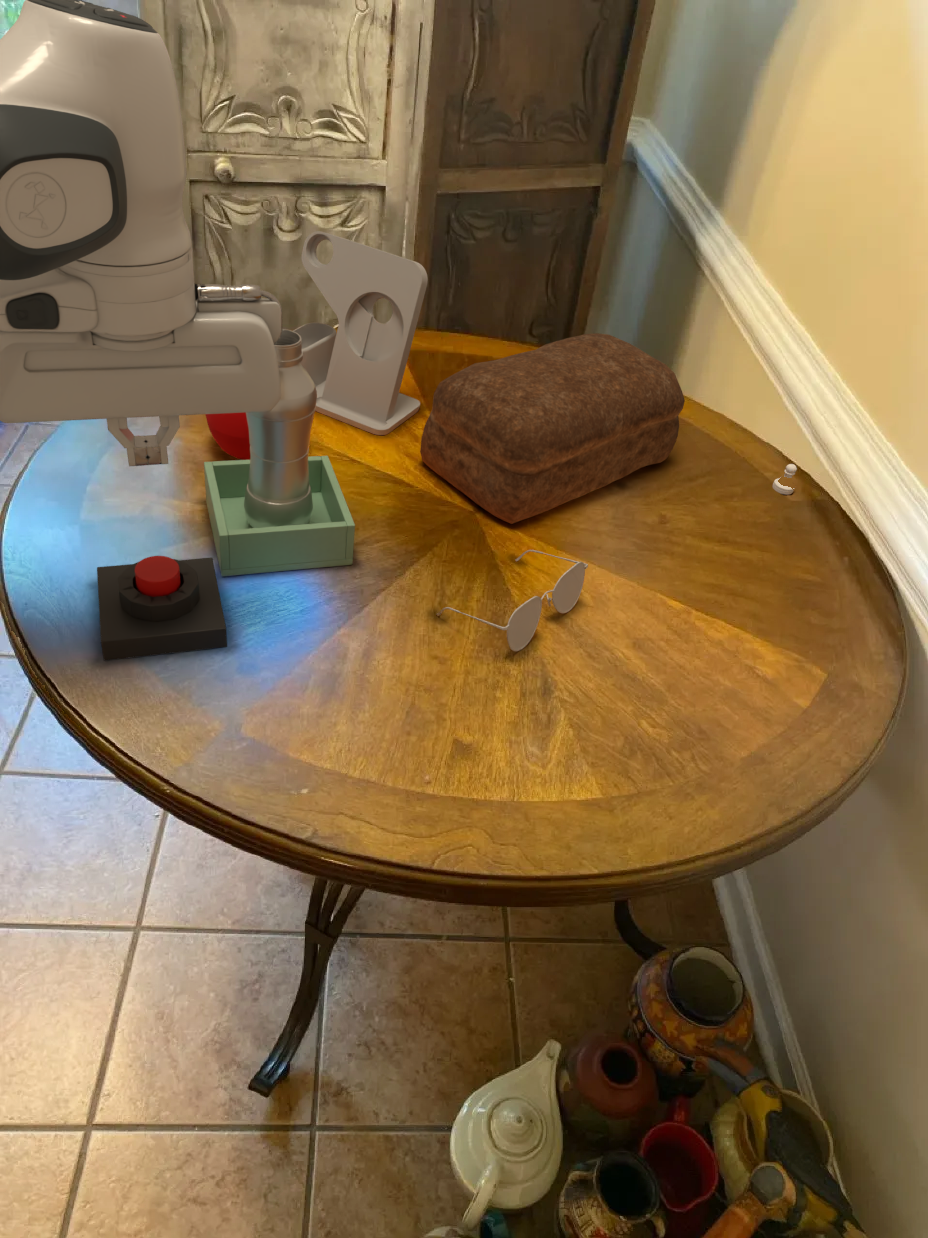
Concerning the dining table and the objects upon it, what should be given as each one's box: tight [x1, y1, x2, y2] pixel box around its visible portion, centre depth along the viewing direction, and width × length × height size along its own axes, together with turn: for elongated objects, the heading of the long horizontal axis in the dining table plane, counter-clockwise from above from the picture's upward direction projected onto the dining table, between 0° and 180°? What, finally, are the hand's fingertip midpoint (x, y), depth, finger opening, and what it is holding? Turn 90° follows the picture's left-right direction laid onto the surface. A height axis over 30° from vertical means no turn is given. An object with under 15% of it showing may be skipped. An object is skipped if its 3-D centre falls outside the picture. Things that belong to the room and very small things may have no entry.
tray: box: [203, 455, 356, 577], centre depth 91 cm, size 13×13×5 cm
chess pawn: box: [771, 463, 798, 495], centre depth 112 cm, size 3×3×4 cm
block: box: [96, 557, 228, 662], centre depth 80 cm, size 10×10×4 cm
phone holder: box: [292, 230, 429, 436], centre depth 109 cm, size 17×10×18 cm, turn 62°
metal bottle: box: [244, 328, 317, 528], centre depth 85 cm, size 6×7×20 cm
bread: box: [419, 332, 686, 525], centre depth 106 cm, size 17×30×13 cm, turn 131°
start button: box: [135, 555, 181, 597], centre depth 78 cm, size 4×4×2 cm
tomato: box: [204, 412, 250, 460], centre depth 100 cm, size 10×11×11 cm
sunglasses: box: [436, 549, 589, 652], centre depth 87 cm, size 14×8×5 cm, turn 141°
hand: (148, 461), depth 71 cm, fingers closed
